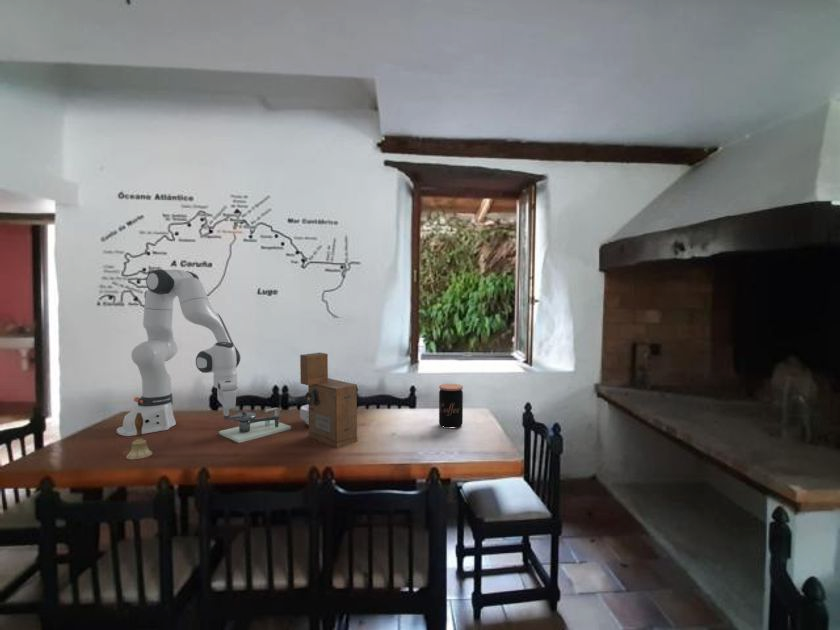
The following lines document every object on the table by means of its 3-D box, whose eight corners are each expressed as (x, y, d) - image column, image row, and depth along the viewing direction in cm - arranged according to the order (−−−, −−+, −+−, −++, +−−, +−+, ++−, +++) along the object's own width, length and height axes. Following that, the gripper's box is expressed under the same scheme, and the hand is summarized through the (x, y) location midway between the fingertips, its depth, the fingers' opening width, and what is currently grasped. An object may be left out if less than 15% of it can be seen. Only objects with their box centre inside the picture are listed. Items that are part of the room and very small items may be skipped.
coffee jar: (435, 427, 203) (435, 387, 202) (443, 420, 213) (443, 382, 212) (458, 430, 199) (458, 389, 198) (465, 423, 209) (465, 384, 208)
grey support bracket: (267, 426, 199) (267, 410, 199) (265, 425, 201) (264, 409, 200) (279, 423, 204) (279, 408, 203) (276, 422, 205) (276, 407, 205)
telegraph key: (223, 436, 185) (223, 406, 184) (223, 429, 193) (223, 401, 193) (280, 429, 194) (279, 401, 193) (277, 423, 202) (277, 396, 201)
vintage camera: (300, 439, 186) (299, 354, 184) (328, 431, 197) (327, 351, 195) (328, 450, 174) (328, 359, 172) (357, 441, 184) (356, 355, 182)
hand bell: (149, 450, 174) (147, 408, 173) (155, 455, 168) (153, 413, 167) (123, 455, 168) (122, 413, 167) (129, 461, 162) (127, 417, 161)
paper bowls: (314, 417, 219) (314, 400, 218) (340, 421, 212) (340, 404, 212) (293, 425, 205) (293, 408, 205) (320, 430, 198) (320, 412, 198)
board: (238, 442, 182) (238, 419, 181) (219, 433, 193) (218, 411, 192) (291, 429, 200) (290, 407, 199) (270, 421, 211) (269, 401, 210)
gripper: (213, 378, 192) (213, 410, 193) (221, 387, 175) (222, 422, 176) (228, 377, 196) (229, 408, 197) (238, 385, 179) (239, 420, 179)
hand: (226, 415), depth 186 cm, fingers closed
